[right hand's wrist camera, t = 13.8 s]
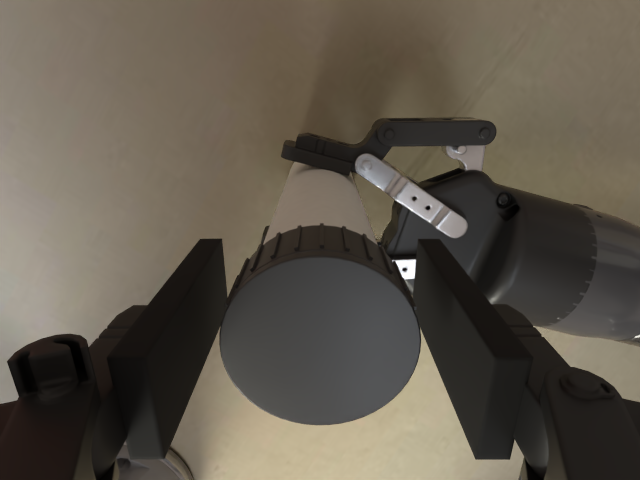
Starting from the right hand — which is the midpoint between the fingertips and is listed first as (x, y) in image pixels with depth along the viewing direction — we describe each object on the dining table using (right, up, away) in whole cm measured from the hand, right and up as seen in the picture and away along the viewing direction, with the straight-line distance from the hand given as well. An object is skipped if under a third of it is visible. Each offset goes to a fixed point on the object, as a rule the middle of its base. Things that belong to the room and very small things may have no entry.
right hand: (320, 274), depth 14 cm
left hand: (-3, +4, +8) cm, 9 cm away
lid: (0, -1, -4) cm, 4 cm away
